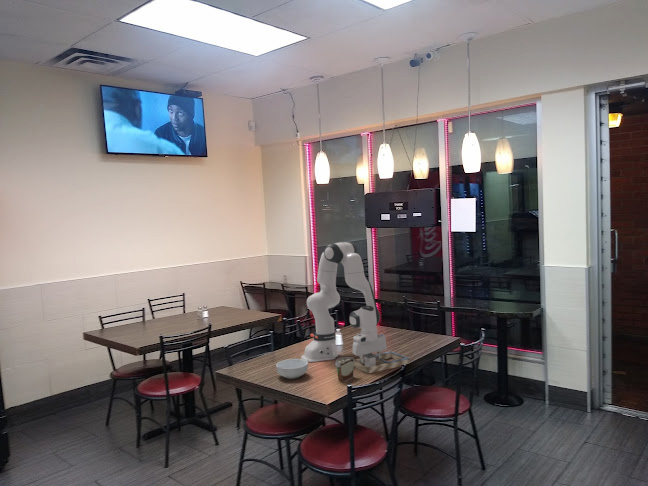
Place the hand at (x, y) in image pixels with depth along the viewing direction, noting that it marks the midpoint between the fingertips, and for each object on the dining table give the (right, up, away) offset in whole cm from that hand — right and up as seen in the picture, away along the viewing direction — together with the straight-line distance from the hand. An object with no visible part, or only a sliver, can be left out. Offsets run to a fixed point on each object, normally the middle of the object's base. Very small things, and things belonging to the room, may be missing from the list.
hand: (370, 360), depth 264 cm
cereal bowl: (-42, -6, -9) cm, 43 cm away
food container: (-16, -5, -17) cm, 23 cm away
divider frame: (+6, -3, +3) cm, 7 cm away
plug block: (0, -3, 0) cm, 3 cm away
